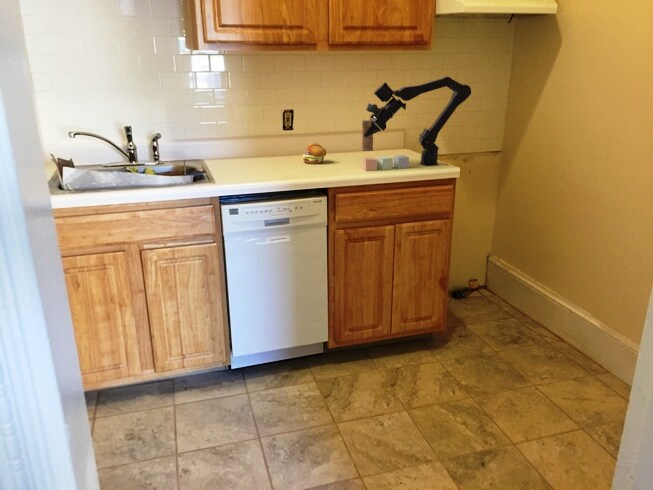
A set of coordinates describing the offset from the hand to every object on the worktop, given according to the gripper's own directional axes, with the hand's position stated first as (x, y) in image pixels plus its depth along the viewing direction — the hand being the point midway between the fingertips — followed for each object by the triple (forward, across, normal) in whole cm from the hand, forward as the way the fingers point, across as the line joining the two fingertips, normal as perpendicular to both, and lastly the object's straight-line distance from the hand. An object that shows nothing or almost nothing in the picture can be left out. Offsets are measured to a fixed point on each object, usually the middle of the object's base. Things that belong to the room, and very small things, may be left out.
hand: (364, 135), depth 246 cm
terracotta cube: (+8, +10, +11) cm, 17 cm away
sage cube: (+4, +8, +16) cm, 18 cm away
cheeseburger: (+26, -8, -6) cm, 28 cm away
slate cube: (-2, +6, +21) cm, 22 cm away
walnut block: (+4, 0, +6) cm, 7 cm away
